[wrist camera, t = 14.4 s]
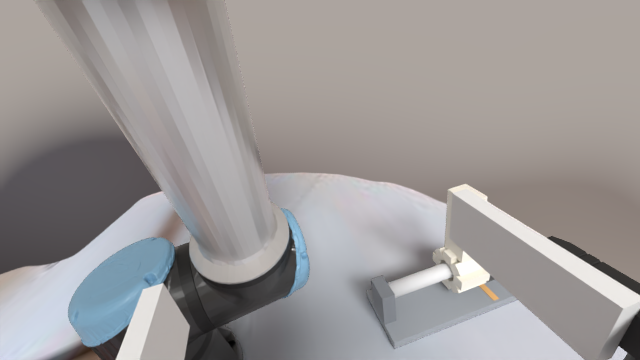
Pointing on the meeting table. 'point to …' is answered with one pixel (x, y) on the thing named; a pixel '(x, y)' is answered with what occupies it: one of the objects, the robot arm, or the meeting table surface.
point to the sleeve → (459, 255)
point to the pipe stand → (429, 303)
